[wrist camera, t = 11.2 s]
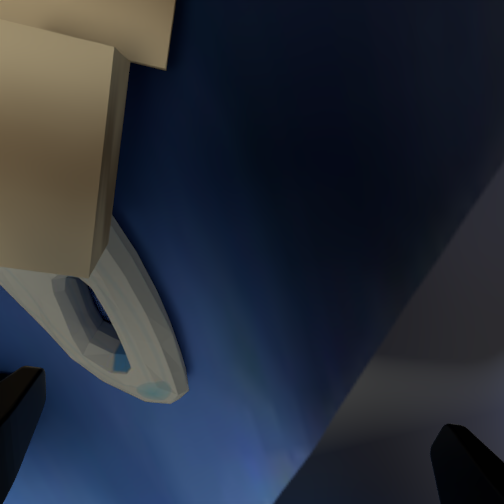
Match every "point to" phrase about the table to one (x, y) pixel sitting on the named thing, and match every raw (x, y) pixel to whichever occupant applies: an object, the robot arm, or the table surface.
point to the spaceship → (102, 333)
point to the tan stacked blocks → (67, 122)
